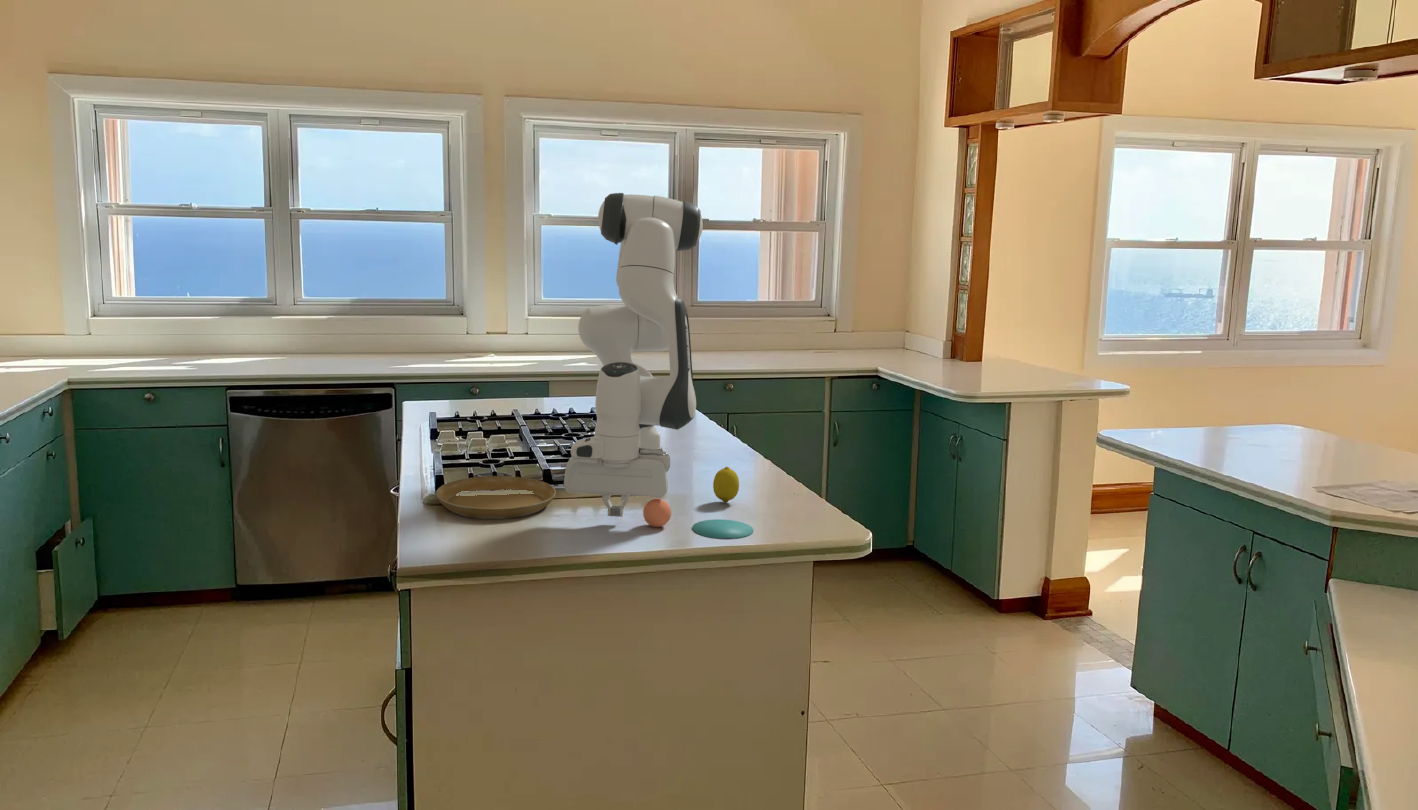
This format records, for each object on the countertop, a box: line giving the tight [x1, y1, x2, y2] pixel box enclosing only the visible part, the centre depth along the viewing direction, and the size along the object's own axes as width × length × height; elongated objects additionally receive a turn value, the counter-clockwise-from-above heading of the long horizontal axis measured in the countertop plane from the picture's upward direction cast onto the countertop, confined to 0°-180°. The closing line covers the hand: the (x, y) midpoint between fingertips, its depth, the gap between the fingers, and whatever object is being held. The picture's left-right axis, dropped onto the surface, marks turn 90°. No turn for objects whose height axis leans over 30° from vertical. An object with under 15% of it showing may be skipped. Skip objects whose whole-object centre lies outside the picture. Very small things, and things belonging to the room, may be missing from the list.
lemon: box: [712, 466, 740, 504], centre depth 219 cm, size 6×6×8 cm
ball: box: [642, 498, 672, 528], centre depth 201 cm, size 6×6×6 cm
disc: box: [692, 519, 754, 539], centre depth 201 cm, size 12×12×1 cm
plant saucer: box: [435, 475, 557, 520], centre depth 211 cm, size 24×24×3 cm
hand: (615, 515), depth 201 cm, fingers closed
